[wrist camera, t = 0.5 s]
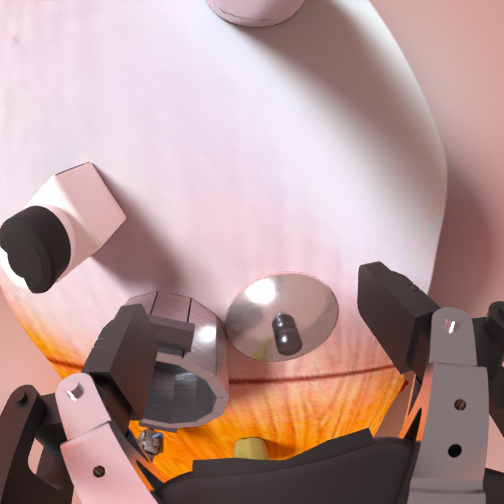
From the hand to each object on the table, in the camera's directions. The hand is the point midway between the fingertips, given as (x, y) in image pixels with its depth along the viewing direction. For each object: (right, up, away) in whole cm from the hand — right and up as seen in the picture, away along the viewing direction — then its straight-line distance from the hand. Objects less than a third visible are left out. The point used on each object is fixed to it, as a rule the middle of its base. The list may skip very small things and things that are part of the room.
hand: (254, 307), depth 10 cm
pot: (-11, -9, +23) cm, 27 cm away
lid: (+4, -6, +23) cm, 24 cm away
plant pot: (-1, -37, +38) cm, 53 cm away
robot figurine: (-16, -24, +30) cm, 42 cm away
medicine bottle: (-17, +7, +15) cm, 24 cm away
